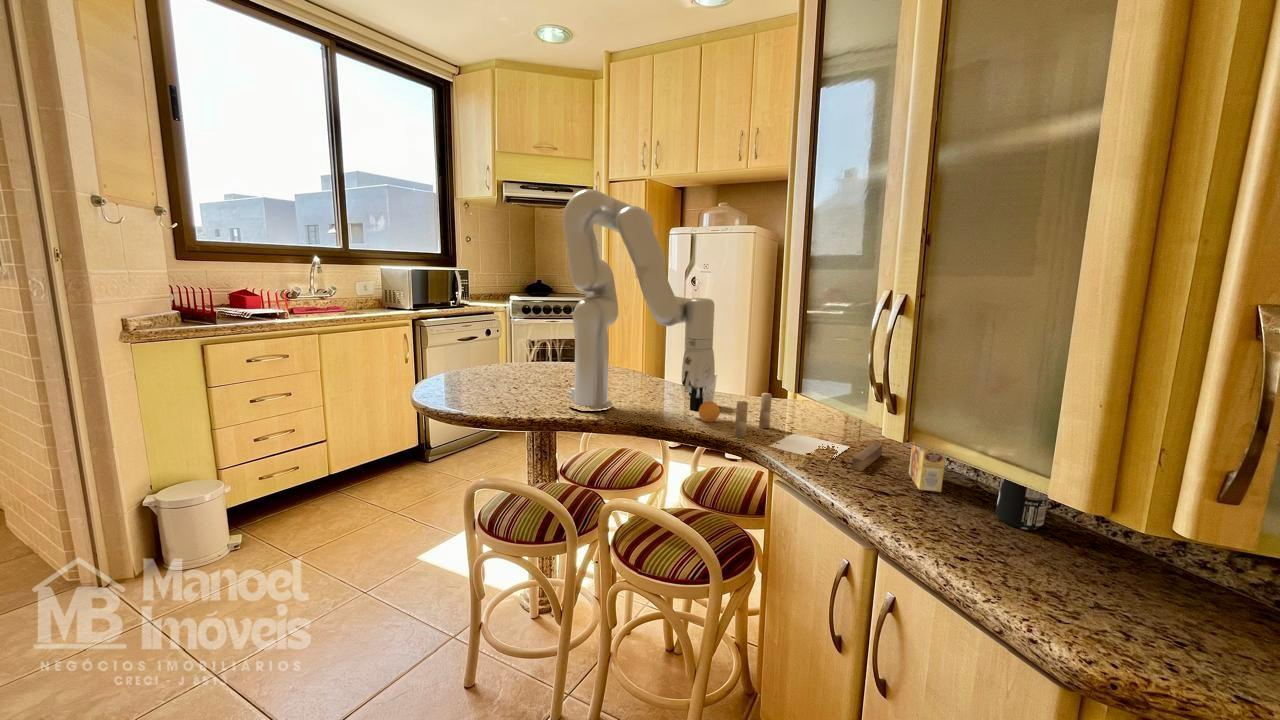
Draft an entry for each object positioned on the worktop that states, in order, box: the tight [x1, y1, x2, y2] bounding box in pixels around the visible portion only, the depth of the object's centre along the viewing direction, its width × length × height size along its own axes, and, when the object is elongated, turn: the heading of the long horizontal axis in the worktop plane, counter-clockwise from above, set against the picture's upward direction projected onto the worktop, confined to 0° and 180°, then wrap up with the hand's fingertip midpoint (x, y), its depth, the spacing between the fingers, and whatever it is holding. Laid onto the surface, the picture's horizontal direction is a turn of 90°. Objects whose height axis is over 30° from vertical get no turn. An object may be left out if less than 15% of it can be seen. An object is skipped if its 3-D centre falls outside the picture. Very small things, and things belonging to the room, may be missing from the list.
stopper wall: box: [851, 442, 884, 472], centre depth 114 cm, size 2×14×2 cm, turn 140°
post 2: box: [758, 392, 773, 429], centre depth 136 cm, size 3×3×9 cm
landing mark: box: [769, 432, 851, 463], centre depth 122 cm, size 14×14×1 cm
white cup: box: [703, 372, 718, 403], centre depth 156 cm, size 8×8×10 cm
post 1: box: [734, 400, 749, 440], centre depth 126 cm, size 3×3×9 cm
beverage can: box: [995, 477, 1049, 531], centre depth 87 cm, size 7×7×12 cm
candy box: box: [908, 444, 947, 493], centre depth 102 cm, size 9×4×15 cm, turn 166°
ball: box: [698, 401, 721, 423], centre depth 140 cm, size 6×6×6 cm
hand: (696, 410), depth 143 cm, fingers closed
